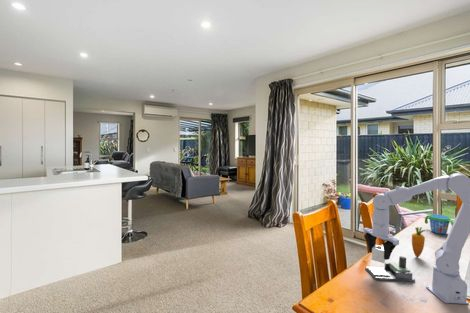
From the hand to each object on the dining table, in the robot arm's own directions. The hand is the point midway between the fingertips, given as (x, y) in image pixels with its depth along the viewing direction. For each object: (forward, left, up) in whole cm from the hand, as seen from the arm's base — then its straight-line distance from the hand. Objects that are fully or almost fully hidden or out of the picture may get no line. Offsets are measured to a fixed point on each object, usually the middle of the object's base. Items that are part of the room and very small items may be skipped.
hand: (379, 255), depth 102 cm
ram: (0, -8, -6) cm, 11 cm away
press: (0, -3, -8) cm, 9 cm away
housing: (0, 0, -2) cm, 2 cm away
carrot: (+18, -27, -8) cm, 34 cm away
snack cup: (+55, -64, -8) cm, 85 cm away
